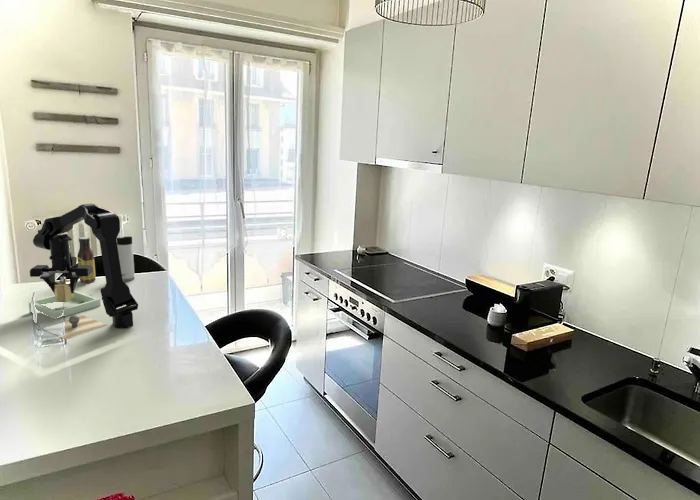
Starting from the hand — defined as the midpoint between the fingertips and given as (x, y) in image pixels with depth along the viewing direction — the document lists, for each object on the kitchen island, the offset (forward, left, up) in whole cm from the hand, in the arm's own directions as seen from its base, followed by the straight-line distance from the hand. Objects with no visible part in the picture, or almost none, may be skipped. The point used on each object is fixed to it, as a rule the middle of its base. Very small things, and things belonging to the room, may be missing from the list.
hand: (64, 293), depth 165 cm
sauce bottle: (+25, -24, -7) cm, 35 cm away
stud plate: (-19, +8, -7) cm, 22 cm away
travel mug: (+15, -36, -7) cm, 40 cm away
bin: (0, 0, -7) cm, 7 cm away
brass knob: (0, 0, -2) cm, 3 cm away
